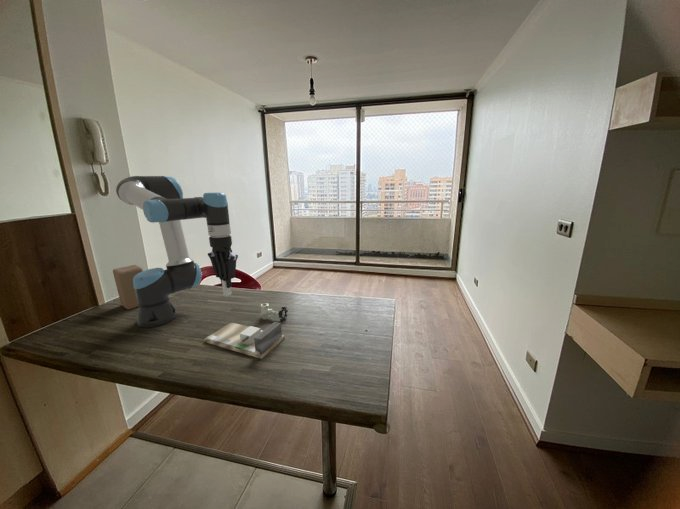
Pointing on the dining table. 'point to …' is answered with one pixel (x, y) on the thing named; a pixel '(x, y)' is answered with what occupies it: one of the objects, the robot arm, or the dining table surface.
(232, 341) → the board
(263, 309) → the valve
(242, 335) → the white rectangular block
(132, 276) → the wooden block
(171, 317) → the robot arm
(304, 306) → the dining table surface
